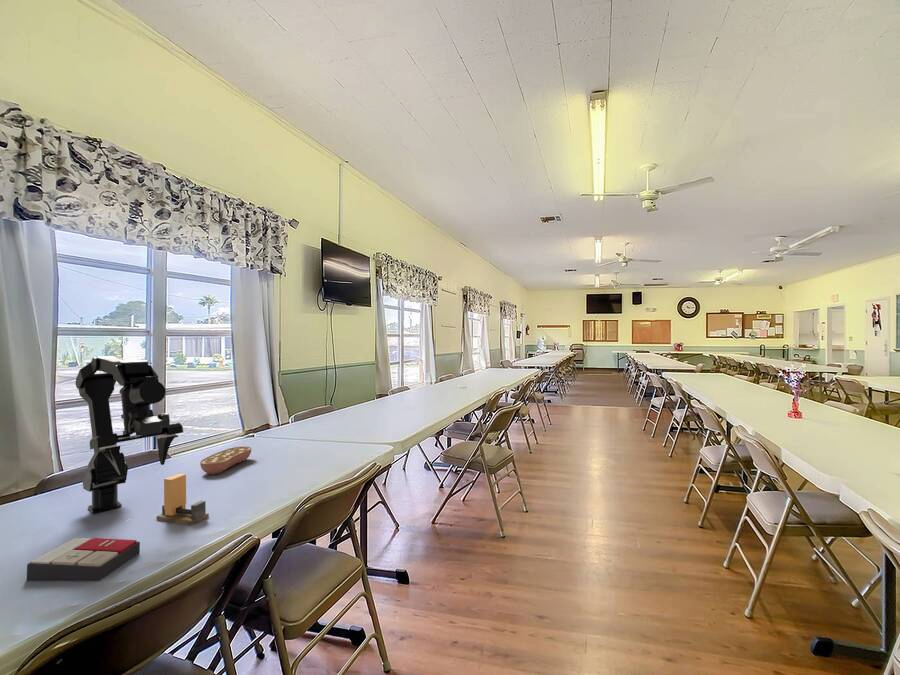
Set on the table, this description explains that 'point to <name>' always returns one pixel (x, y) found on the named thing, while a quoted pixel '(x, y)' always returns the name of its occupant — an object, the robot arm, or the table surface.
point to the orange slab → (174, 493)
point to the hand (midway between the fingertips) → (142, 469)
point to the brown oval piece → (224, 459)
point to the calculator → (83, 560)
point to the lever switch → (186, 514)
